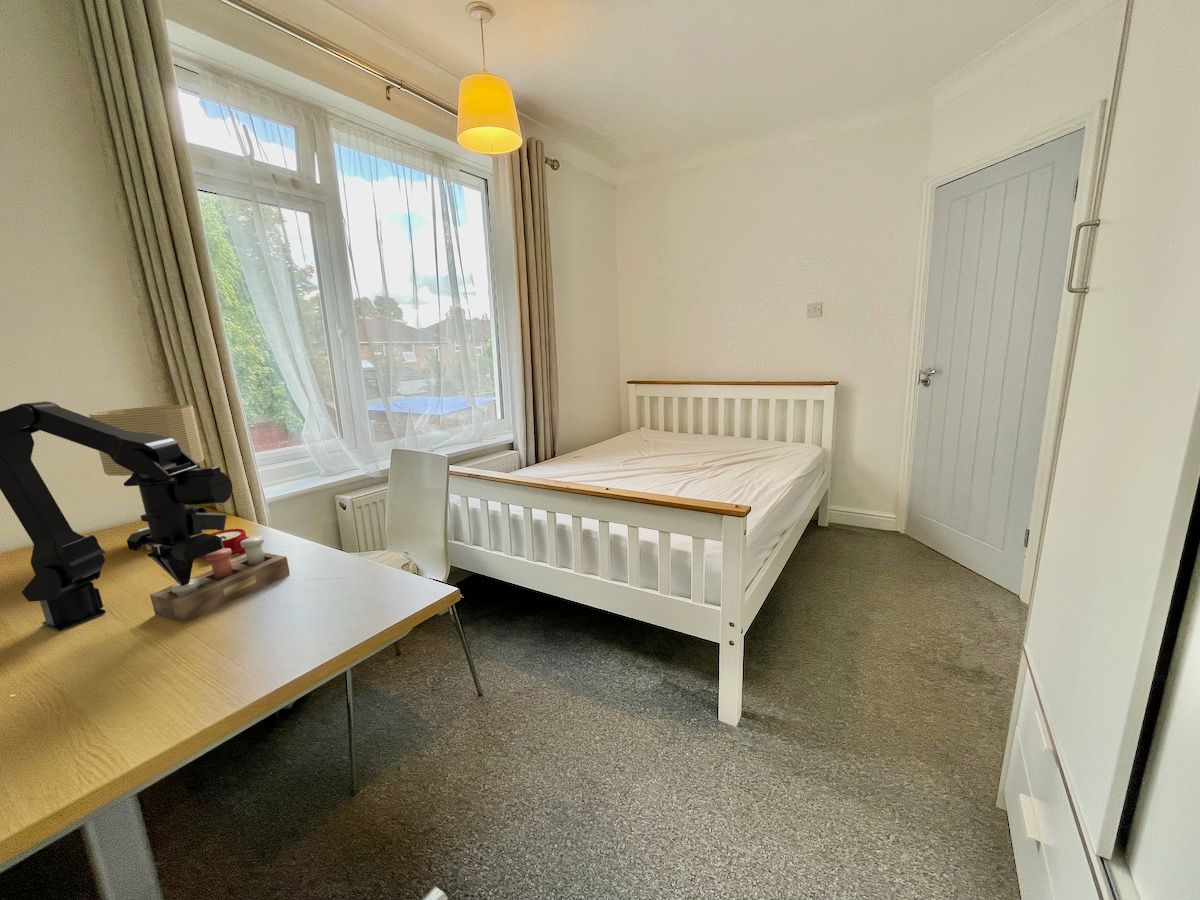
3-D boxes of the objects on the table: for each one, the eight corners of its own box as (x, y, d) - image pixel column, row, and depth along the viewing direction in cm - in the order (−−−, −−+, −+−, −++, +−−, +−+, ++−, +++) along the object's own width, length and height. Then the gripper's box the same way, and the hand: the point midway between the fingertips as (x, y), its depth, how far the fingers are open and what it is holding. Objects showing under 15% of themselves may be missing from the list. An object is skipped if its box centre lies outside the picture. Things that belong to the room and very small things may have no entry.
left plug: (185, 615, 89) (179, 590, 88) (172, 611, 90) (166, 587, 89) (209, 604, 92) (203, 580, 91) (196, 601, 94) (190, 577, 93)
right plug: (253, 567, 100) (248, 544, 99) (240, 564, 101) (236, 542, 100) (271, 559, 103) (267, 537, 102) (259, 557, 105) (255, 535, 104)
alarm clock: (241, 525, 127) (253, 525, 117) (247, 548, 127) (260, 549, 117) (191, 537, 119) (200, 538, 109) (197, 561, 120) (207, 564, 110)
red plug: (219, 581, 94) (213, 557, 93) (206, 578, 95) (201, 555, 94) (240, 572, 97) (235, 549, 96) (228, 569, 99) (223, 547, 98)
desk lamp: (125, 538, 130) (91, 411, 123) (214, 519, 144) (189, 403, 136) (124, 559, 117) (86, 417, 109) (224, 535, 130) (196, 407, 123)
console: (185, 623, 86) (179, 602, 86) (155, 614, 90) (149, 594, 89) (290, 574, 105) (287, 556, 104) (262, 568, 108) (258, 551, 107)
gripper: (245, 497, 91) (260, 572, 94) (186, 490, 98) (202, 560, 101) (176, 516, 81) (196, 600, 84) (116, 507, 88) (136, 584, 91)
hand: (184, 584), depth 90 cm, fingers closed, pressing on left plug
